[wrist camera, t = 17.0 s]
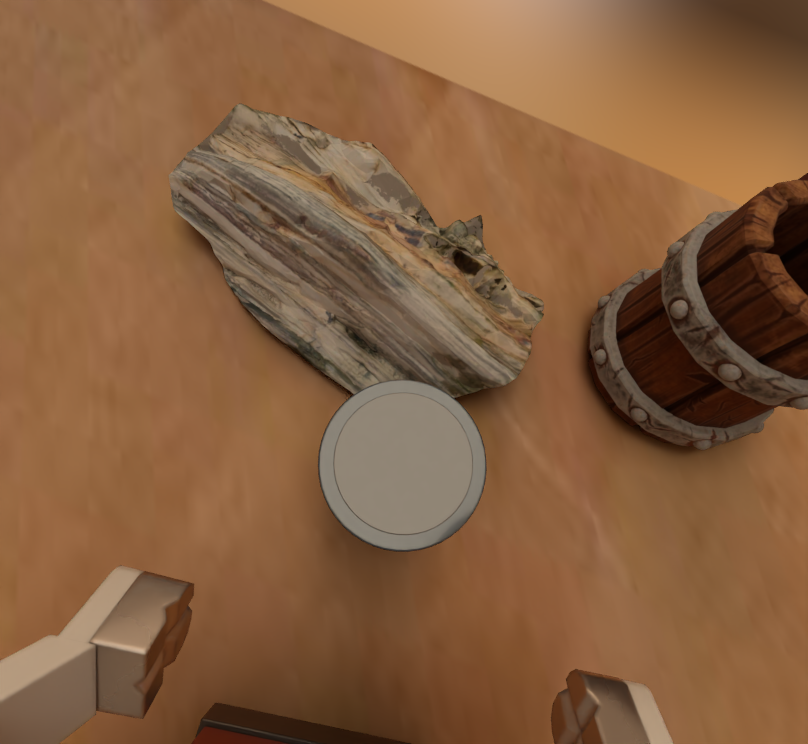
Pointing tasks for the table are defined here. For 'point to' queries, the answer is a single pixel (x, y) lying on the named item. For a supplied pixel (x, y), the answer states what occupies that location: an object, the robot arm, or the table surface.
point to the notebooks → (272, 729)
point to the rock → (351, 259)
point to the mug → (712, 326)
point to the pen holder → (402, 465)
